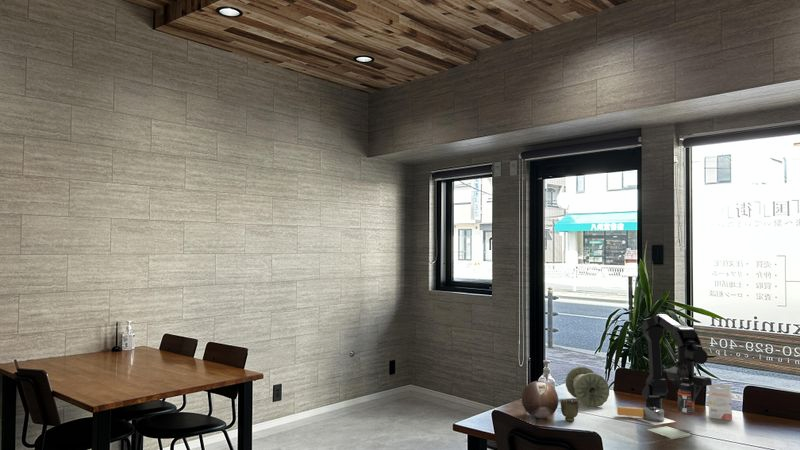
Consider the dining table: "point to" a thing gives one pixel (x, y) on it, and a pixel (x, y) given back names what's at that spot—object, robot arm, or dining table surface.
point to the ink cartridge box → (720, 402)
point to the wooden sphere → (540, 399)
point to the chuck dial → (643, 413)
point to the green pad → (669, 432)
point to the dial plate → (654, 422)
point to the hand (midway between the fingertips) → (686, 399)
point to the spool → (587, 387)
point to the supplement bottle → (685, 400)
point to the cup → (569, 409)
